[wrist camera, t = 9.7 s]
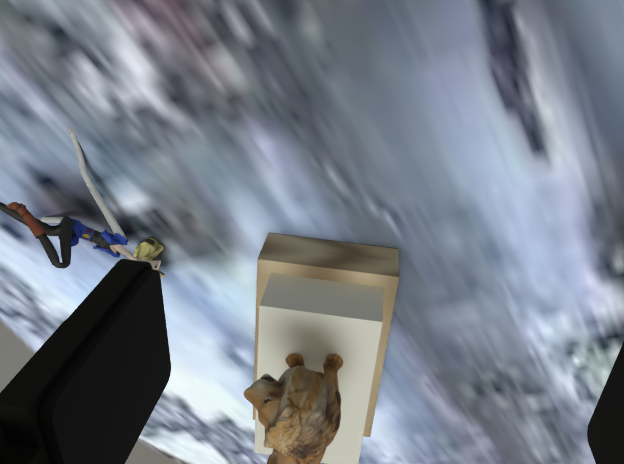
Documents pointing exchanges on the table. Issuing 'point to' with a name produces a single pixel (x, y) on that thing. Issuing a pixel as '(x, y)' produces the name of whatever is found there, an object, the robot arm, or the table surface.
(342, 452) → the cream brick
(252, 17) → the table surface
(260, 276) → the oak base brick
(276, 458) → the lion figurine
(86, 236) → the figurine
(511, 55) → the table surface
